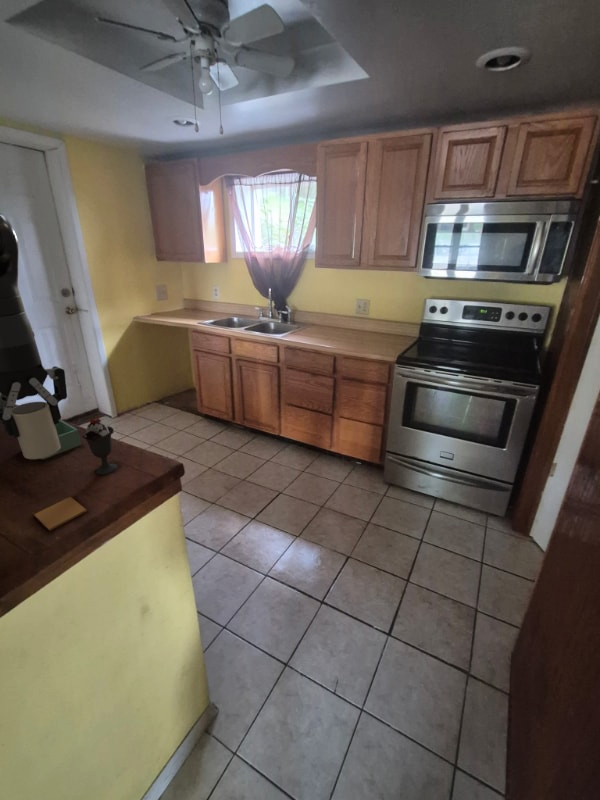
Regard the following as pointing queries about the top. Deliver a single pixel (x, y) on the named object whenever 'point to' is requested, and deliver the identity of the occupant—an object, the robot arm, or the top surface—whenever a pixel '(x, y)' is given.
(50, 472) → the top surface
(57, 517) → the coaster
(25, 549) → the top surface
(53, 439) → the coffee cup
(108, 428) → the sundae
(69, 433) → the bin
